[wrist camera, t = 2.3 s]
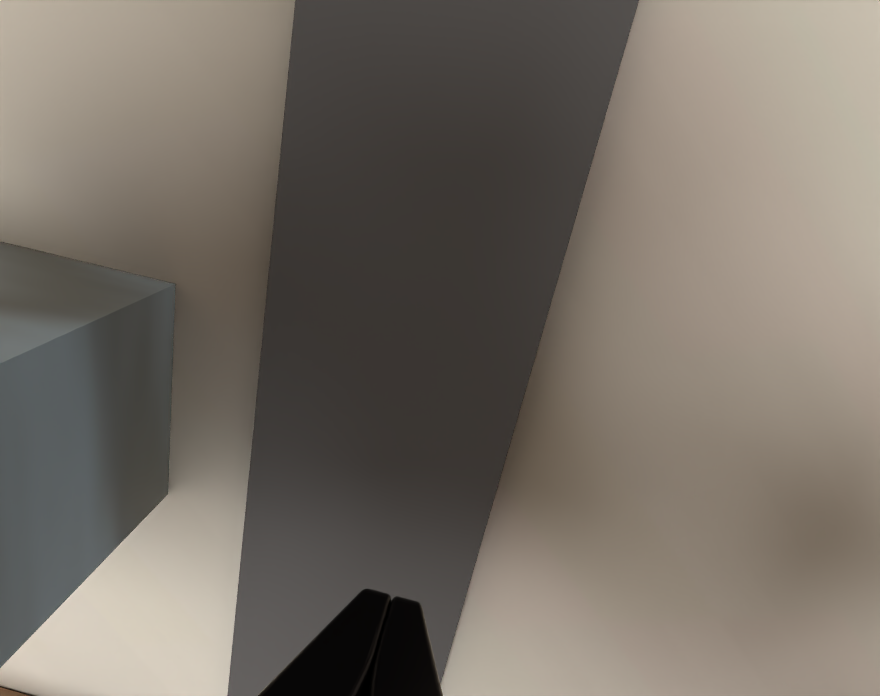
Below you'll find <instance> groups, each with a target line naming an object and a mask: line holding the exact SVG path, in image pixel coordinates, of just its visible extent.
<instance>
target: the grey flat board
mask: <svg viewBox="0 0 880 696" xmlns="http://www.w3.org/2000/svg"><path fill="white" fill-rule="evenodd" d="M638 1H639V0H295V10H294V20H293V31H292V41H291V51H290V61H289V72H288V82H287V92H286V102H285V112H284V123H283V133H282V143H281V153H280V164H279V174H278V184H277V194H276V205H275V215H274V225H273V235H272V246H271V256H270V266H269V276H268V287H267V297H266V307H265V317H264V328H263V338H262V348H261V358H260V369H259V379H258V389H257V399H256V410H255V420H254V430H253V440H252V451H251V461H250V471H249V481H248V492H247V502H246V512H245V522H244V533H243V543H242V553H241V563H240V574H239V584H238V594H237V604H236V615H235V625H234V635H233V645H232V656H231V666H230V676H229V686H228V696H257V695H258V694H259V693H260V692H261V691H262V690H263V689H264V688H265V687H266V686H267V685H268V684H269V683H270V682H271V681H272V680H273V679H274V678H275V677H276V676H277V675H278V674H279V673H280V672H281V671H282V670H283V669H284V668H285V667H286V666H287V665H288V664H289V663H290V662H291V661H292V660H293V659H294V658H295V657H296V656H297V655H298V654H299V653H300V652H301V651H302V650H303V649H304V648H305V647H306V646H307V645H308V644H309V643H310V642H311V641H312V640H313V639H314V638H315V637H316V636H317V635H318V634H319V633H320V632H321V631H322V630H323V629H324V628H325V627H326V626H327V625H328V624H329V623H330V622H331V621H332V620H333V619H334V618H335V617H336V616H337V615H338V614H339V613H340V612H341V611H342V610H343V609H344V608H345V607H346V606H347V605H348V604H349V603H350V602H351V601H352V600H353V599H354V598H355V597H356V596H357V595H358V594H359V593H360V592H361V591H362V590H363V589H366V588H368V589H372V590H376V591H380V592H384V593H387V594H389V595H390V596H391V601H392V599H393V598H394V597H396V596H399V597H402V598H406V599H410V600H414V601H417V602H419V603H420V604H421V606H422V609H423V613H424V617H425V621H426V625H427V630H428V634H429V638H430V643H431V647H432V651H433V655H434V660H435V664H436V668H437V673H438V677H439V681H440V683H441V680H442V676H443V673H444V669H445V666H446V663H447V659H448V656H449V652H450V649H451V645H452V642H453V638H454V635H455V632H456V628H457V625H458V621H459V618H460V614H461V611H462V607H463V604H464V601H465V597H466V594H467V590H468V587H469V583H470V580H471V576H472V573H473V570H474V566H475V563H476V559H477V556H478V552H479V549H480V545H481V542H482V539H483V535H484V532H485V528H486V525H487V521H488V518H489V514H490V511H491V508H492V504H493V501H494V497H495V494H496V490H497V487H498V484H499V480H500V477H501V473H502V470H503V466H504V463H505V459H506V456H507V453H508V449H509V446H510V442H511V439H512V435H513V432H514V428H515V425H516V422H517V418H518V415H519V411H520V408H521V404H522V401H523V397H524V394H525V391H526V387H527V384H528V380H529V377H530V373H531V370H532V366H533V363H534V360H535V356H536V353H537V349H538V346H539V342H540V339H541V335H542V332H543V329H544V325H545V322H546V318H547V315H548V311H549V308H550V304H551V301H552V298H553V294H554V291H555V287H556V284H557V280H558V277H559V273H560V270H561V267H562V263H563V260H564V256H565V253H566V249H567V246H568V243H569V239H570V236H571V232H572V229H573V225H574V222H575V218H576V215H577V212H578V208H579V205H580V201H581V198H582V194H583V191H584V187H585V184H586V181H587V177H588V174H589V170H590V167H591V163H592V160H593V156H594V153H595V150H596V146H597V143H598V139H599V136H600V132H601V129H602V125H603V122H604V119H605V115H606V112H607V108H608V105H609V101H610V98H611V94H612V91H613V88H614V84H615V81H616V77H617V74H618V70H619V67H620V63H621V60H622V57H623V53H624V50H625V46H626V43H627V39H628V36H629V32H630V29H631V26H632V22H633V19H634V15H635V12H636V8H637V5H638Z"/></svg>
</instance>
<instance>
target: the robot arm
mask: <svg viewBox="0 0 880 696" xmlns="http://www.w3.org/2000/svg"><path fill="white" fill-rule="evenodd" d="M257 696H443V694H442V690H441V685H440V681H439V677H438V673H437V668H436V664H435V660H434V655H433V651H432V647H431V643H430V638H429V634H428V630H427V625H426V621H425V617H424V613H423V609H422V606H421V604H420V603H419V602H417V601H414V600H410V599H406V598H402V597H399V596H396V597H394V598H393V599H392V601H391V596H390V595H389V594H387V593H384V592H380V591H376V590H372V589H368V588H366V589H363V590H362V591H361V592H360V593H359V594H358V595H357V596H356V597H355V598H354V599H353V600H352V601H351V602H350V603H349V604H348V605H347V606H346V607H345V608H344V609H343V610H342V611H341V612H340V613H339V614H338V615H337V616H336V617H335V618H334V619H333V620H332V621H331V622H330V623H329V624H328V625H327V626H326V627H325V628H324V629H323V630H322V631H321V632H320V633H319V634H318V635H317V636H316V637H315V638H314V639H313V640H312V641H311V642H310V643H309V644H308V645H307V646H306V647H305V648H304V649H303V650H302V651H301V652H300V653H299V654H298V655H297V656H296V657H295V658H294V659H293V660H292V661H291V662H290V663H289V664H288V665H287V666H286V667H285V668H284V669H283V670H282V671H281V672H280V673H279V674H278V675H277V676H276V677H275V678H274V679H273V680H272V681H271V682H270V683H269V684H268V685H267V686H266V687H265V688H264V689H263V690H262V691H261V692H260V693H259V694H258V695H257Z"/></svg>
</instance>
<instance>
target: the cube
mask: <svg viewBox="0 0 880 696" xmlns="http://www.w3.org/2000/svg"><path fill="white" fill-rule="evenodd" d="M174 310H175V284H173V283H169V282H165V281H161V280H157V279H153V278H149V277H145V276H140V275H136V274H132V273H128V272H124V271H120V270H116V269H111V268H107V267H103V266H99V265H95V264H91V263H87V262H83V261H78V260H74V259H70V258H66V257H62V256H58V255H54V254H49V253H45V252H41V251H37V250H33V249H29V248H25V247H21V246H16V245H12V244H8V243H4V242H0V668H1V667H2V666H3V665H4V663H5V662H6V661H7V660H8V659H9V658H10V657H11V656H12V655H13V654H14V653H15V652H16V651H17V650H18V649H19V648H20V647H21V646H22V645H23V644H24V643H25V642H26V641H27V640H28V639H29V638H30V636H31V635H32V634H33V633H34V632H35V631H36V630H37V629H38V628H39V627H40V626H41V625H42V624H43V623H44V622H45V621H46V620H47V619H48V618H49V617H50V616H51V615H52V614H53V613H54V612H55V611H56V610H57V608H58V607H59V606H60V605H61V604H62V603H63V602H64V601H65V600H66V599H67V598H68V597H69V596H70V595H71V594H72V593H73V592H74V591H75V590H76V589H77V588H78V587H79V586H80V585H81V584H82V583H83V582H84V580H85V579H86V578H87V577H88V576H89V575H90V574H91V573H92V572H93V571H94V570H95V569H96V568H97V567H98V566H99V565H100V564H101V563H102V562H103V561H104V560H105V559H106V558H107V557H108V556H109V555H110V554H111V552H112V551H113V550H114V549H115V548H116V547H117V546H118V545H119V544H120V543H121V542H122V541H123V540H124V539H125V538H126V537H127V536H128V535H129V534H130V533H131V532H132V531H133V530H134V529H135V528H136V527H137V525H138V524H139V523H140V522H141V521H142V520H143V519H144V518H145V517H146V516H147V515H148V514H149V513H150V512H151V511H152V510H153V509H154V508H155V507H156V506H157V505H158V504H159V503H160V502H161V501H162V500H163V499H164V497H165V496H166V495H167V494H168V477H169V449H170V421H171V393H172V366H173V338H174Z"/></svg>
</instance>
